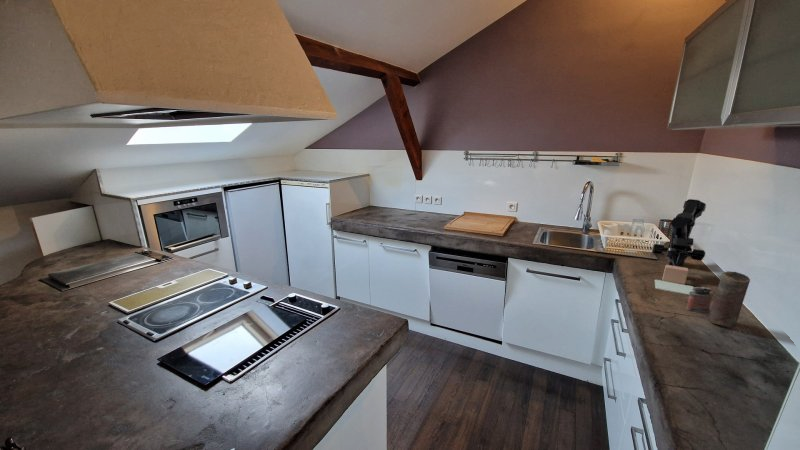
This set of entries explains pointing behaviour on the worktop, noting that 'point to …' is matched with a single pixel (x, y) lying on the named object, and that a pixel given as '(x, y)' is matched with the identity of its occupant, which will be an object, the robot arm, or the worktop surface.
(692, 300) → the lighter
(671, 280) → the block
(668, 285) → the mat
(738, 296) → the rusty brown metal cylinder
